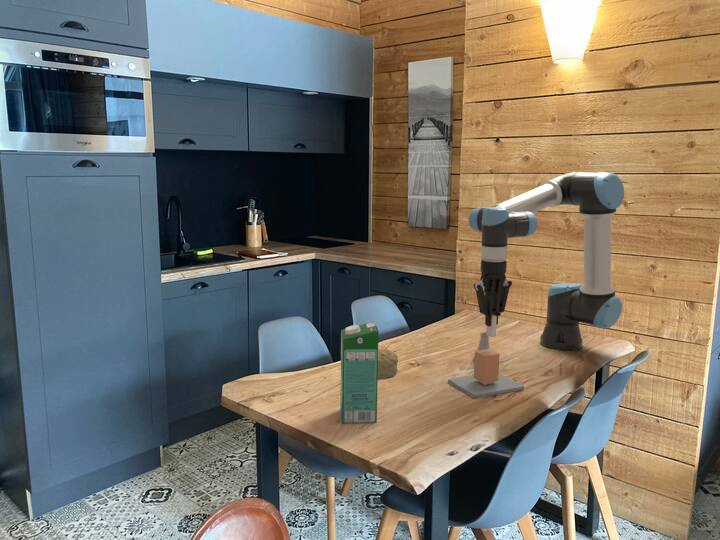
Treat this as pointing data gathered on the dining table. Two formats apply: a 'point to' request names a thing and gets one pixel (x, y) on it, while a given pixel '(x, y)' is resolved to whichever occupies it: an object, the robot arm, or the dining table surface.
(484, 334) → the flask
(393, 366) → the decorative object
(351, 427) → the dining table surface
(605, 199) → the robot arm
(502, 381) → the grey flat base
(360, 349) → the milk carton
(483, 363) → the peach square-faced block
